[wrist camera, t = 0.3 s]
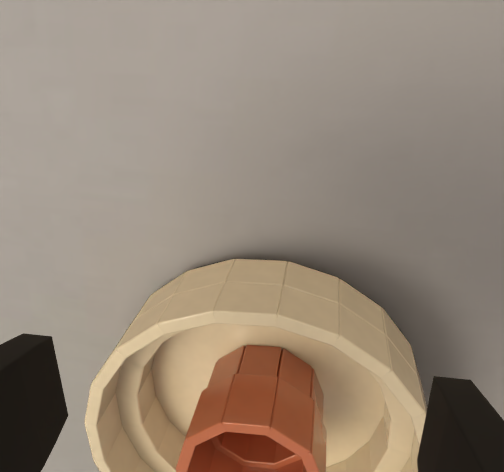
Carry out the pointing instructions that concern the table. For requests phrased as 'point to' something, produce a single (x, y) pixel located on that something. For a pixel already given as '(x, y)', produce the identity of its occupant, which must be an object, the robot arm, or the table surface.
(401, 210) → the table surface
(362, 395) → the cream bowl
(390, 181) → the table surface
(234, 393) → the terracotta pot
